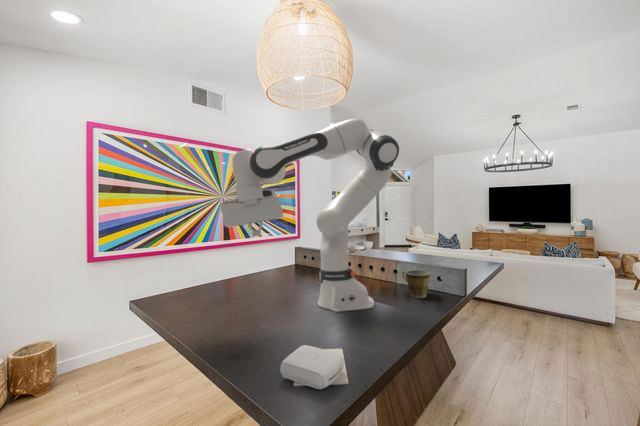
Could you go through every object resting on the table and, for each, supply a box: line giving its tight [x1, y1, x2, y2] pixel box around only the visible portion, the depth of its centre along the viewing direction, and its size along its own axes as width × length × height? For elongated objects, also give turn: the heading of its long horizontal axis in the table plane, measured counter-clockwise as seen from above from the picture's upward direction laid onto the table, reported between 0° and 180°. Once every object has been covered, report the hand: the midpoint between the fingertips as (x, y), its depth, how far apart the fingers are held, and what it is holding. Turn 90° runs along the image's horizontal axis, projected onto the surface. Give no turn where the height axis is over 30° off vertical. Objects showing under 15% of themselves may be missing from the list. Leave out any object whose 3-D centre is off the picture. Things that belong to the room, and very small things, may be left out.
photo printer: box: [279, 344, 345, 390], centre depth 66 cm, size 10×4×12 cm
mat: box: [293, 348, 349, 387], centre depth 70 cm, size 12×15×1 cm
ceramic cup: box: [401, 269, 431, 299], centre depth 123 cm, size 13×10×10 cm
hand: (257, 235), depth 98 cm, fingers closed
